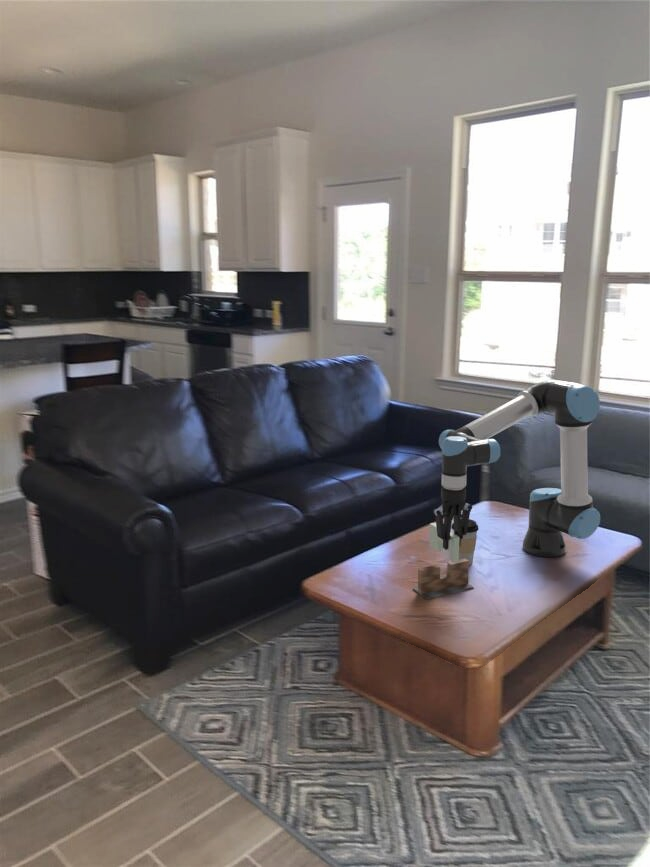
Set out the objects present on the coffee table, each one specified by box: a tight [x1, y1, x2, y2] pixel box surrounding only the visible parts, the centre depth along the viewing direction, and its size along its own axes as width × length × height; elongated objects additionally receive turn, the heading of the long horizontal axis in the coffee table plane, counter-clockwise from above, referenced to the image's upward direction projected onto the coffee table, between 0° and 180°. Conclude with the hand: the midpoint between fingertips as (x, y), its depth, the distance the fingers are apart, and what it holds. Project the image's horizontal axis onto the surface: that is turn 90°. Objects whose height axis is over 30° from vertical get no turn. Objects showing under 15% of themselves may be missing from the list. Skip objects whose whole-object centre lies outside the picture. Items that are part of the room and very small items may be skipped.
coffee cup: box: [451, 518, 479, 566], centre depth 245 cm, size 9×9×15 cm
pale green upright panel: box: [429, 522, 459, 562], centre depth 223 cm, size 14×2×8 cm, turn 23°
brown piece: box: [412, 559, 474, 601], centre depth 226 cm, size 18×8×9 cm, turn 113°
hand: (451, 557), depth 220 cm, fingers closed on pale green upright panel, 2 cm apart
